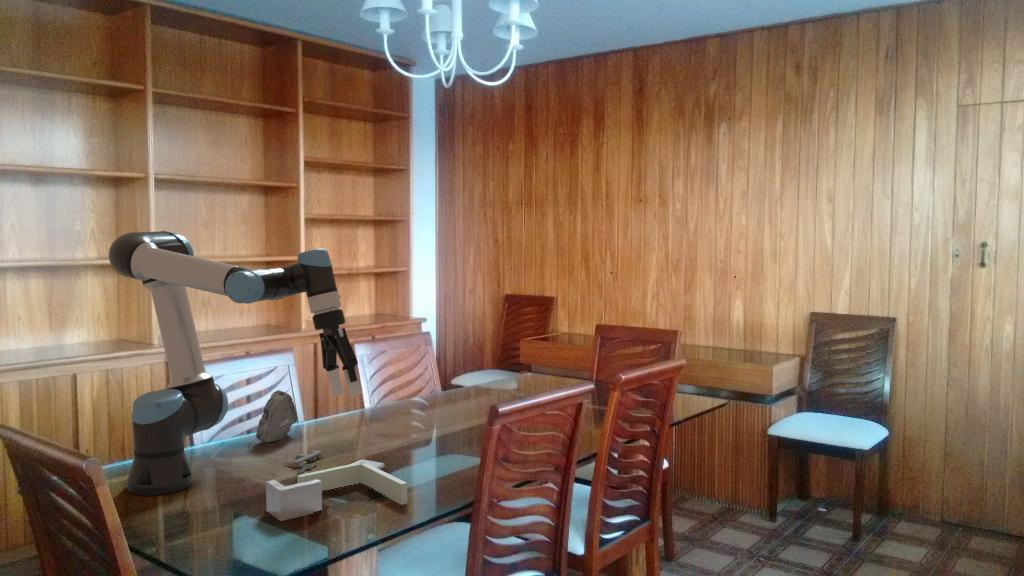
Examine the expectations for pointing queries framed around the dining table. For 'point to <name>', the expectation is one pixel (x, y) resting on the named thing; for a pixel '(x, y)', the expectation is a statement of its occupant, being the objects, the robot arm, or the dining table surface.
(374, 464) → the hard drive
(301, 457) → the clamp
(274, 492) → the bracket
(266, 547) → the dining table surface
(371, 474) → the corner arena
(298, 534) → the dining table surface
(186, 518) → the dining table surface
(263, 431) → the decorative rock
